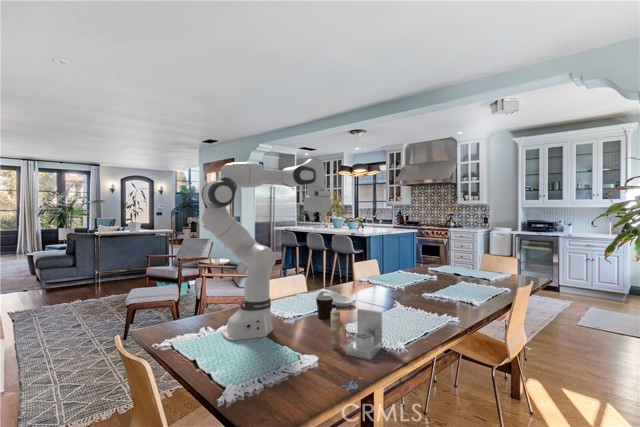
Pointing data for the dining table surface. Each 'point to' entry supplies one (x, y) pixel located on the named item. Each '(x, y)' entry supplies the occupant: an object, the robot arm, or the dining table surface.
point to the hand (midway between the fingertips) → (316, 220)
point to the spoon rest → (338, 298)
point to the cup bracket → (366, 335)
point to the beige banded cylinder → (335, 329)
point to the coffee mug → (324, 306)
